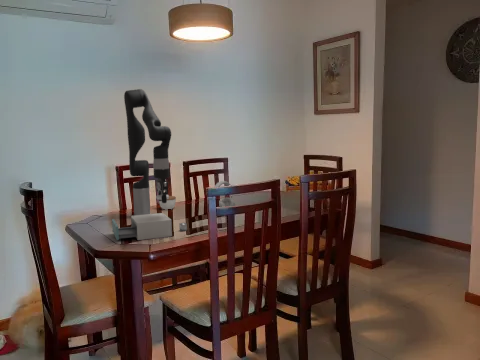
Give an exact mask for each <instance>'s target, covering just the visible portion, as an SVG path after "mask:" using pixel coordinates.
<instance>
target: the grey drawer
mask: <svg viewBox="0 0 480 360" xmlns="http://www.w3.org/2000/svg"><path fill="white" fill-rule="evenodd" d="M111 229H112V233H113V235H114V237H115V239H116V240H117V241H118V240H121V239H128V238H136V237H137V226H136V227H132V226H127V227H119V226H118V224H117V221H116V219H115V218H112V219H111Z"/></svg>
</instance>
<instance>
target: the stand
mask: <svg viewBox="0 0 480 360" xmlns="http://www.w3.org/2000/svg"><path fill="white" fill-rule="evenodd" d="M178 224H179V231H180V232H187V230H188V225H187V222H180V223H178Z"/></svg>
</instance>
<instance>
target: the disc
mask: <svg viewBox="0 0 480 360" xmlns="http://www.w3.org/2000/svg"><path fill="white" fill-rule="evenodd" d="M169 196H170V195H169V194H167V195H166V198H167V199H169ZM155 199H156V200H158V201H159V200H162V195H158V194H157V195H156V196H155Z"/></svg>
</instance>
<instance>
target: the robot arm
mask: <svg viewBox="0 0 480 360" xmlns="http://www.w3.org/2000/svg"><path fill="white" fill-rule="evenodd" d="M123 98H124V99H123V100H124V101H123V102H124V107H125V114H126V124H127V125H126V126H127V140H128V152H129V157H128V158H129V160H128V161H129V173H130V174H129V175H130V176H131V177H142V178H141V179H140V180H138V181H135V182H133V184H132V191H133V192H132V193H133V194H132V195H133V196H132V197H133V216H135V215H146V214H151V198H150V197H151V196H150V195H151V194H150V164H149V161H148V160H147V159H146V160H145V159H141V160H138V159H137V160H136V158H137V155H138V153H139V151H140V150H141V149H142V148H143V146H144V144H145V141H146V131H145V127H144V126H143V124H142V123H141V122H140V120H138V118H137V117H136V115H135V111H134V109H136V108H142V107H143V111H142V115H141V118H142V121H143V123H144V124H145V126H146V128H147V131H148V132H147V133H148V137H149V139H150V140H151V141H153V142H161V143H160V144H159V145H156V146H154V147H153V151H152V152H153V154H152V155H153V163H152V164H153V165H152V166H153V167H152V168H153V178H155V179H156V180H155V182H156V184H155V186H156V192H157V195H162V200H158V202H159V201H162V203H166V202H167V198H166V195H169V183H168V182H167V180H166V179H168V178H170V162H169V148H170V142H171V138H172V130H171V129H170V127H169V126H167V125H165V126H164V125H162V123H161V120H160V118H159V117H158V116H157V114H156V113H155V111H154V109H153V107H152V103H151V102H150V99H149V97H148V95H147V93H146V91H145V90H144V89H142V88H139V89H131V90H126V91H124V95H123Z"/></svg>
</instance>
